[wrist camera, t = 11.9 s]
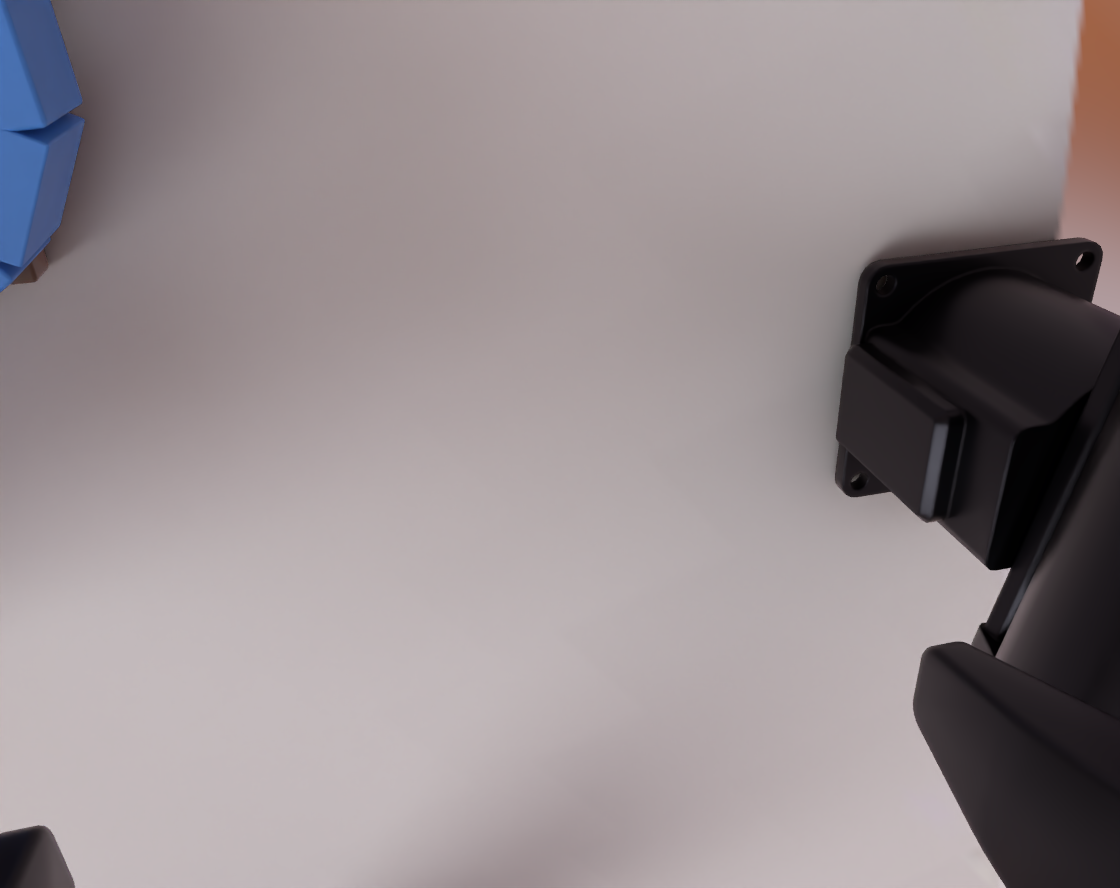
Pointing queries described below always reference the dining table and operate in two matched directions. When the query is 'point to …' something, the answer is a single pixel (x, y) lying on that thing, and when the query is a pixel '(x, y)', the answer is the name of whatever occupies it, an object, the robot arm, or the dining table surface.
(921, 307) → the robot arm
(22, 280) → the stand
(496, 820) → the dining table surface
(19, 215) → the tape roll
